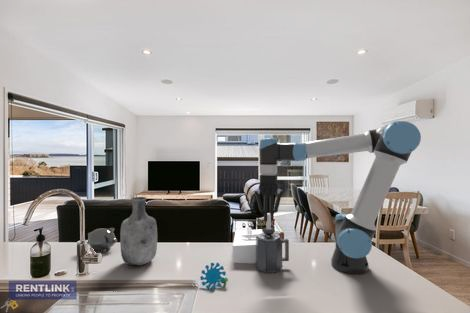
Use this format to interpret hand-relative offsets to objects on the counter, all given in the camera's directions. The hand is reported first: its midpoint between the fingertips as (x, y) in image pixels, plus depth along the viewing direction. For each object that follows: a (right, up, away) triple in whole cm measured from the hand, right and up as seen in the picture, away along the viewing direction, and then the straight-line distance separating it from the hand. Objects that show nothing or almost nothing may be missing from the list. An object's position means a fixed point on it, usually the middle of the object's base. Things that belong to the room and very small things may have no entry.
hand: (268, 228), depth 115 cm
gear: (-22, -18, -14) cm, 32 cm away
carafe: (+2, -17, 0) cm, 17 cm away
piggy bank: (-83, -18, +23) cm, 89 cm away
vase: (-59, -18, +8) cm, 62 cm away
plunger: (0, -14, 0) cm, 14 cm away
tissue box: (-7, -18, +18) cm, 26 cm away
